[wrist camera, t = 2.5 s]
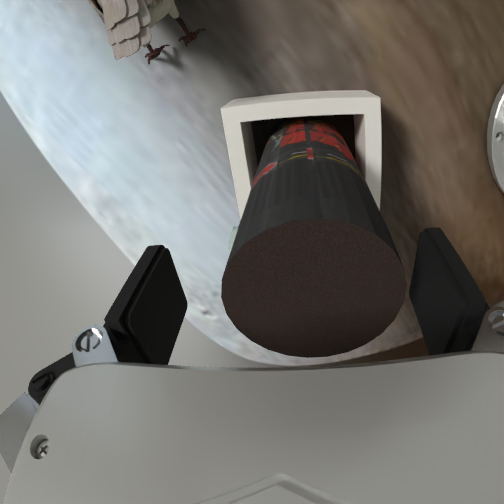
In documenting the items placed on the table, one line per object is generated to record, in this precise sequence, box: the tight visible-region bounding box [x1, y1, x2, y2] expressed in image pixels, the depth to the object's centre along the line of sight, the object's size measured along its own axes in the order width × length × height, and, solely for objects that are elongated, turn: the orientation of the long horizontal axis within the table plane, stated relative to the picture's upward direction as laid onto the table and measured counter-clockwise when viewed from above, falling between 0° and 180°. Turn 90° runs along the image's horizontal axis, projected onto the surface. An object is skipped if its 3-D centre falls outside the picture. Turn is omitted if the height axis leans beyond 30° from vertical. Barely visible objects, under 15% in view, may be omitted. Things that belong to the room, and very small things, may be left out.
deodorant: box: [221, 116, 406, 358], centre depth 16 cm, size 6×6×15 cm
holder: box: [221, 90, 381, 218], centre depth 20 cm, size 9×9×4 cm
